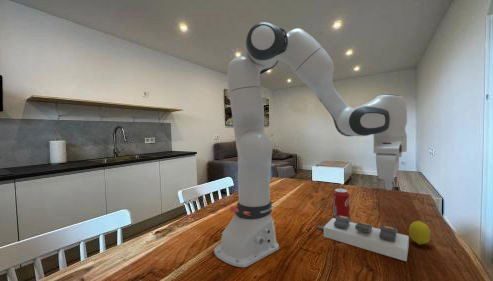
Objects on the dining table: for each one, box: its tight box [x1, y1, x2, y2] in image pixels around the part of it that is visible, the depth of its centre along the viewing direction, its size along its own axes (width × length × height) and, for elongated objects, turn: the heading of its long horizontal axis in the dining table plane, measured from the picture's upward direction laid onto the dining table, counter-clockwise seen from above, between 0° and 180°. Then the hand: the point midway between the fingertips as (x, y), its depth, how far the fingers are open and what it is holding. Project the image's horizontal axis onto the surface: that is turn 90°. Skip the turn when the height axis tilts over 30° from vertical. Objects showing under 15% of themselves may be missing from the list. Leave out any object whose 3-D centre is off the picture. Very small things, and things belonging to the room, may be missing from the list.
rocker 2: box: [355, 221, 373, 232], centre depth 73 cm, size 6×4×2 cm, turn 140°
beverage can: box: [332, 188, 350, 219], centre depth 93 cm, size 6×6×12 cm
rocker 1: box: [334, 215, 352, 229], centre depth 78 cm, size 6×4×2 cm, turn 140°
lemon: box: [408, 220, 432, 246], centre depth 70 cm, size 6×6×8 cm
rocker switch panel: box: [317, 217, 410, 262], centre depth 74 cm, size 10×28×4 cm, turn 50°
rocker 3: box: [380, 224, 398, 242], centre depth 69 cm, size 6×4×2 cm, turn 140°
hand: (389, 188), depth 69 cm, fingers open, 2 cm apart
